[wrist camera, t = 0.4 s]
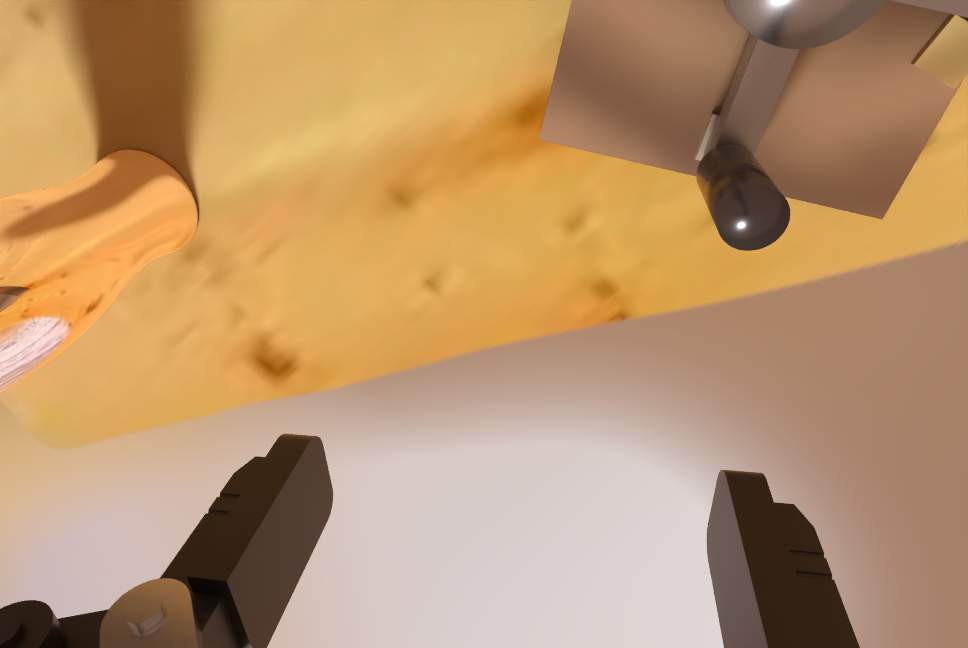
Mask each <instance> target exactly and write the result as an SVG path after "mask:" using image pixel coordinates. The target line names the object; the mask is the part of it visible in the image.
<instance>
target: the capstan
mask: <svg viewBox="0 0 968 648" xmlns="http://www.w3.org/2000/svg"><path fill="white" fill-rule="evenodd" d="M886 1H887V0H723V2H724V5H725V6H726V8H727V10H728V12H729V14H730V15H731V16H732V18H733V19H734V20H735V22H736V23H738V24H739V25H740V26H741V27H742V28H743V29H744V30H746V31H747V32H749V33H750V37H749V39H748V42H747V45H746V47H745V50H744V52H743V55H742V58H741V60H740V63H739V65H738V68H737V70H736V73H735V76H734V78H733V81H732V83H731V86H730V89H729V91H728V94H727V96H726V99H725V101H724V104H723V107H722V109H721V112H720V114H719V117H718V120H717V122H716V125H715V127H714V130H713V132H712V135H711V138H710V140H709V143H708V145H707V148H706V151H705V153H704V156H703V158H702V160H701V161H700V163H699V165H698V168H697V173H696V178H697V183H698V186H699V188H700V190H701V193H702V195H703V197H704V199H705V202H706V204H707V206H708V209H709V211H710V213H711V216H712V218H713V220H714V222H715V225H716V227H717V229H718V232H719V234H720V236H721V238H722V239H723V240H724V241H725V242H726V243H727V244H728V245H730V246H731V247H733V248H736V249H739V250H747V251H750V250H757V249H761V248H764V247H766V246H768V245H770V244H772V243H773V242H775V241H776V240H777V239H778V238H779V237H780V236H781V235H782V234H783V233H784V231H785V230H786V228H787V226H788V223H789V220H790V208H789V204H788V202H787V200H786V199H785V197H784V196H783V194H782V193H781V192H780V190H779V189H778V188H777V186H776V185H775V184H774V182H773V181H772V180H771V178H770V177H769V176H768V174H767V173H766V172H765V170H764V169H763V168H762V166H761V165H760V164H759V162H758V161H757V160H756V158H755V157H754V154H755V152H756V150H757V147H758V145H759V143H760V140H761V138H762V136H763V133H764V131H765V129H766V127H767V124H768V122H769V120H770V117H771V115H772V113H773V110H774V108H775V106H776V103H777V101H778V99H779V96H780V94H781V92H782V89H783V87H784V85H785V83H786V80H787V78H788V76H789V73H790V71H791V69H792V66H793V64H794V62H795V59H796V57H797V55H798V52H799V50H800V49H806V48H814V47H818V46H822V45H825V44H828V43H831V42H833V41H836V40H838V39H840V38H842V37H844V36H846V35H848V34H849V33H851V32H853V31H854V30H856V29H857V28H859V27H860V26H861V25H863V24H864V23H865V22H866V21H868V20H869V19H870V18H871V17H872V16H873V15H874V14H875V13H876V12H877V11H878V10H879V9H880V8H881V7H882V5H883V4H884V3H885V2H886ZM890 1H895V2H899V3H904V4H908V5H913V6H917V7H922V8H926V9H931V10H935V11H940V12H944V13H949V14H953V15H958V16H962V17H967V18H968V0H890Z"/></svg>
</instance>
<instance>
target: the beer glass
mask: <svg viewBox="0 0 968 648" xmlns="http://www.w3.org/2000/svg"><path fill="white" fill-rule="evenodd" d="M197 224H198V211H197V206H196V202H195V199H194V197H193V194H192V192H191V190H190V189H189V187H188V185H187V184H186V182H185V181H184V180H183V178H182V177H181V176H180V175H179V174H178V173H177V172H176V171H175V170H174V169H173V168H172V167H171V166H170V165H168V164H167V163H166V162H164V161H163V160H161V159H160V158H158V157H156V156H154V155H152V154H149V153H146V152H143V151H138V150H120V151H116V152H113V153H111V154H109V155H107V156H106V157H104V158H103V159H101V160H100V161H99V162H98V163H97V164H95V165H94V166H93V167H92V168H91V169H90V170H89V171H87V172H86V173H85V174H84V175H82V176H81V177H79V178H77V179H75V180H73V181H70V182H67V183H65V184H61V185H57V186H53V187H49V188H44V189H39V190H34V191H29V192H25V193H20V194H15V195H11V196H6V197H2V198H0V393H2V392H3V391H5V390H7V389H8V388H10V387H11V386H13V385H15V384H16V383H18V382H19V381H21V380H22V379H24V378H25V377H27V376H28V375H30V374H31V373H33V372H34V371H36V370H37V369H39V368H40V367H42V366H43V365H45V364H46V363H47V362H49V361H50V360H51V359H53V358H54V357H56V356H57V355H58V354H60V353H61V352H62V351H64V350H65V349H66V348H67V347H68V346H70V345H71V344H72V343H73V342H74V341H75V340H77V339H78V338H79V337H80V336H81V335H83V334H84V333H85V332H86V331H87V330H88V329H89V328H90V326H91V325H92V324H93V323H94V322H95V321H96V320H97V319H98V318H99V317H100V316H101V315H102V314H103V313H104V312H105V310H106V309H107V308H108V307H109V306H110V304H111V303H112V302H113V301H114V300H115V298H116V297H117V296H118V295H119V293H120V292H121V291H122V290H123V289H124V287H125V286H126V285H127V284H128V282H129V281H130V280H131V279H132V278H133V277H134V275H135V274H136V273H137V272H138V271H139V270H140V269H141V268H143V267H144V266H145V265H146V264H148V263H149V262H151V261H153V260H155V259H157V258H159V257H162V256H164V255H167V254H169V253H172V252H174V251H176V250H178V249H180V248H182V247H183V246H185V245H186V244H187V243H188V242H189V241H190V240H191V238H192V237H193V235H194V234H195V231H196V228H197Z"/></svg>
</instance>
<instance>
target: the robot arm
mask: <svg viewBox="0 0 968 648" xmlns="http://www.w3.org/2000/svg"><path fill="white" fill-rule="evenodd" d="M332 502H333V489H332V484H331V480H330V475H329V470H328V466H327V461H326V456H325V452H324V447H323V443H322V441H321V439H320V438H319V437H317V436H306V435H293V434H283V435H281V436H280V437H279V438H278V439H277V441H276V442H275V444H274V445H273V447H272V448H271V449H270V451H269V453H268V454H267V456H266V457H254V458H253V459H252V460H250V461H249V462H248V463H247V464H245V465H244V466H243V467H241V468H240V469H239V470H238V471H236V472H235V473H234V474H233V475H232V477H231V478H230V480H229V481H228V483H227V484H226V486H225V487H224V488H223V490H222V491H221V492H220V497H217V498H216V500H215V501H214V503H213V504H212V505H211V507H210V508H209V512H208V514H205V515H204V517H203V518H202V519H201V521H200V522H199V524H198V525H197V527H196V528H195V529H194V531H193V532H192V534H191V535H190V537H189V538H188V539H187V541H186V542H185V544H184V545H183V546H182V548H181V549H180V551H179V552H178V554H177V555H176V557H175V558H174V559H173V561H172V562H171V563H170V565H169V566H168V568H167V569H166V571H165V572H164V573H163V575H162V576H161V577H160V578H159V579H155V580H151V581H148V582H145V583H142V584H140V585H138V586H136V587H134V588H133V589H131V590H129V591H128V592H126V593H125V594H124V595H122V596H121V597H120V598H119V599H118V600H117V601H116V602H115V603H114V604H113V605H112V606H111V607H110V609H108V610H104V611H98V612H93V613H87V614H82V615H76V616H71V617H65V618H60V619H57V618H56V616H55V615H54V613H53V611H52V610H51V608H50V607H49V606H48V605H47V604H46V603H43V602H41V601H35V600H29V601H21V602H17V603H13V604H11V605H8V606H5V607H3V608H1V609H0V648H267V646H268V644H269V642H270V640H271V638H272V635H273V633H274V631H275V629H276V627H277V625H278V623H279V621H280V619H281V617H282V615H283V613H284V611H285V608H286V606H287V604H288V602H289V600H290V598H291V596H292V593H293V592H294V590H295V588H296V585H297V583H298V581H299V579H300V577H301V575H302V573H303V571H304V569H305V567H306V565H307V563H308V561H309V558H310V556H311V554H312V552H313V550H314V548H315V546H316V544H317V542H318V539H319V538H320V535H321V533H322V531H323V529H324V527H325V525H326V523H327V521H328V518H329V516H330V513H331V508H332ZM707 554H708V561H709V567H710V572H711V578H712V583H713V589H714V595H715V600H716V605H717V611H718V617H719V622H720V628H721V633H722V638H723V644H724V648H860V647H859V644H858V642H857V639H856V637H855V634H854V631H853V629H852V626H851V624H850V621H849V618H848V615H847V613H846V610H845V608H844V605H843V602H842V599H841V597H840V594H839V592H838V589H837V586H836V584H835V581H834V580H832V573H831V570H830V568H829V565H828V563H827V560H826V558H824V552H823V549H822V547H821V544H820V541H819V539H818V536H817V534H816V531H815V528H814V527H813V526H812V524H811V523H810V522H809V521H808V520H807V519H806V518H805V516H804V515H803V514H802V513H801V512H800V511H799V510H798V508H797V507H796V506H795V505H794V504H784V503H774V502H773V498H772V495H771V492H770V489H769V486H768V483H767V480H766V477H765V476H764V474H762V473H754V472H742V471H729V470H721V471H720V472H719V475H718V478H717V483H716V488H715V493H714V498H713V503H712V508H711V512H710V517H709V522H708V528H707Z"/></svg>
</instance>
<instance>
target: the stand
mask: <svg viewBox="0 0 968 648" xmlns="http://www.w3.org/2000/svg"><path fill="white" fill-rule="evenodd" d="M749 37H750V33H749V32H747V31H746V30H744V29H743V28H742V27H741V26H740V25H739V24H738V23H736V22H735V20H734V19H733V18H732V16H731V15H730V14H729V12H728V10H727V8H726V6H725V5H724V2H723V0H572V2H571V6H570V11H569V15H568V19H567V23H566V28H565V32H564V36H563V40H562V45H561V49H560V53H559V57H558V62H557V66H556V70H555V74H554V78H553V83H552V87H551V91H550V95H549V100H548V104H547V108H546V112H545V117H544V121H543V125H542V129H541V134H540V138H539V140H542V141H546V142H550V143H555V144H559V145H563V146H568V147H572V148H576V149H581V150H585V151H589V152H594V153H598V154H602V155H606V156H611V157H615V158H619V159H624V160H628V161H632V162H637V163H641V164H645V165H650V166H654V167H658V168H663V169H667V170H671V171H676V172H680V173H684V174H689V175H693V176H696V173H697V168H698V165H699V163H700V161H701V160H702V158H703V156H704V153H705V151H706V148H707V145H708V143H709V140H710V138H711V135H712V132H713V130H714V127H715V125H716V122H717V120H718V117H719V114H720V112H721V109H722V107H723V104H724V101H725V99H726V96H727V94H728V91H729V89H730V86H731V83H732V81H733V78H734V76H735V73H736V70H737V68H738V65H739V63H740V60H741V58H742V55H743V52H744V50H745V47H746V45H747V42H748V39H749ZM967 74H968V18H967V17H962V16H958V15H953V14H949V13H944V12H940V11H935V10H931V9H926V8H922V7H917V6H913V5H908V4H904V3H899V2H895V1H890V0H887V1H886V2H885V3H884V4H883V5H882V7H881V8H880V9H879V10H878V11H877V12H876V13H875V14H874V15H873V16H872V17H871V18H870V19H869V20H868V21H866V22H865V23H864V24H863V25H861V26H860V27H859V28H857V29H856V30H854V31H853V32H851V33H849V34H848V35H846V36H844V37H842V38H840V39H838V40H836V41H833V42H831V43H828V44H825V45H822V46H818V47H814V48H806V49H800V50H799V52H798V55H797V57H796V59H795V62H794V64H793V66H792V69H791V71H790V73H789V76H788V78H787V80H786V83H785V85H784V87H783V89H782V92H781V94H780V96H779V99H778V101H777V103H776V106H775V108H774V110H773V113H772V115H771V117H770V120H769V122H768V124H767V127H766V129H765V131H764V133H763V136H762V138H761V140H760V143H759V145H758V147H757V150H756V152H755V154H754V157H755V158H756V160H757V161H758V162H759V164H760V165H761V166H762V168H763V169H764V170H765V172H766V173H767V174H768V176H769V177H770V178H771V180H772V181H773V182H774V184H775V185H776V186H777V188H778V189H779V190H780V192H781V193H782V194H783V196H784V197H788V198H792V199H797V200H801V201H805V202H810V203H814V204H818V205H823V206H827V207H831V208H836V209H840V210H844V211H848V212H853V213H857V214H861V215H866V216H870V217H874V218H879V219H883V217H884V216H885V214H886V212H887V210H888V209H889V207H890V205H891V203H892V202H893V200H894V198H895V197H896V195H897V193H898V191H899V190H900V188H901V186H902V185H903V183H904V181H905V179H906V178H907V176H908V174H909V172H910V171H911V169H912V167H913V166H914V164H915V162H916V160H917V159H918V157H919V155H920V154H921V152H922V150H923V148H924V147H925V145H926V143H927V141H928V140H929V138H930V136H931V135H932V133H933V131H934V129H935V128H936V126H937V124H938V123H939V121H940V119H941V117H942V116H943V114H944V112H945V110H946V109H947V107H948V105H949V104H950V102H951V100H952V98H953V97H954V95H955V93H956V92H957V90H958V88H959V86H960V85H961V83H962V81H963V79H964V78H965V76H966V75H967Z"/></svg>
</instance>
